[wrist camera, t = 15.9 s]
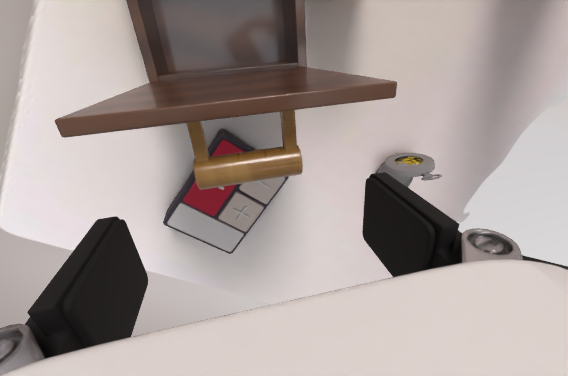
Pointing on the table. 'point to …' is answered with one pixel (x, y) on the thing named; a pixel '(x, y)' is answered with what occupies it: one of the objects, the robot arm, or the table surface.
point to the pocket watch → (409, 167)
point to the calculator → (221, 203)
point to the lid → (229, 114)
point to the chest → (218, 37)
